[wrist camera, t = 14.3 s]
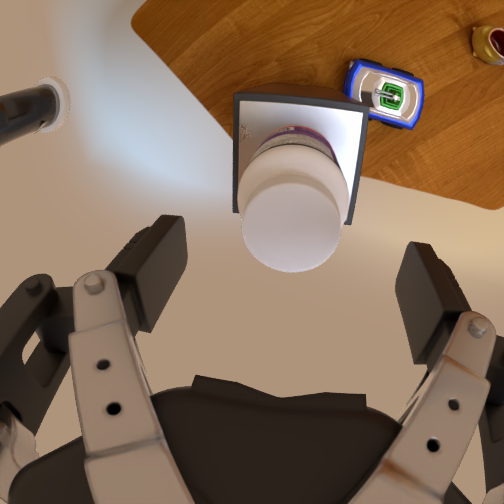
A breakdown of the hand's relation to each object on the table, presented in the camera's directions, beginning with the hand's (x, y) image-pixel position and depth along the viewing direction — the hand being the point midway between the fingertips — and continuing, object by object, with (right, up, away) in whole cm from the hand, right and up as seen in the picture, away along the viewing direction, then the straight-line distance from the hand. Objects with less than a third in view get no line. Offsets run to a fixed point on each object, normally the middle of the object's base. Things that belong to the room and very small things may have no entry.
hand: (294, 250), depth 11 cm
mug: (+39, +34, +19) cm, 55 cm away
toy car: (+18, +24, +29) cm, 42 cm away
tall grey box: (+6, +21, +33) cm, 40 cm away
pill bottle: (+1, +6, +10) cm, 11 cm away
